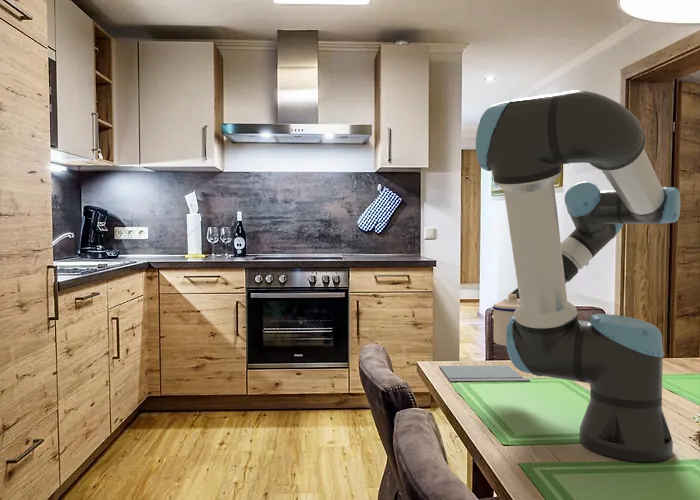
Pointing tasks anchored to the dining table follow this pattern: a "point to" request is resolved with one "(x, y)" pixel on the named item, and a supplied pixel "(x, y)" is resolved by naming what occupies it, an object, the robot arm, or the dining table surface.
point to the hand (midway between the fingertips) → (502, 324)
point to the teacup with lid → (504, 317)
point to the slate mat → (479, 372)
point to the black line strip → (490, 379)
